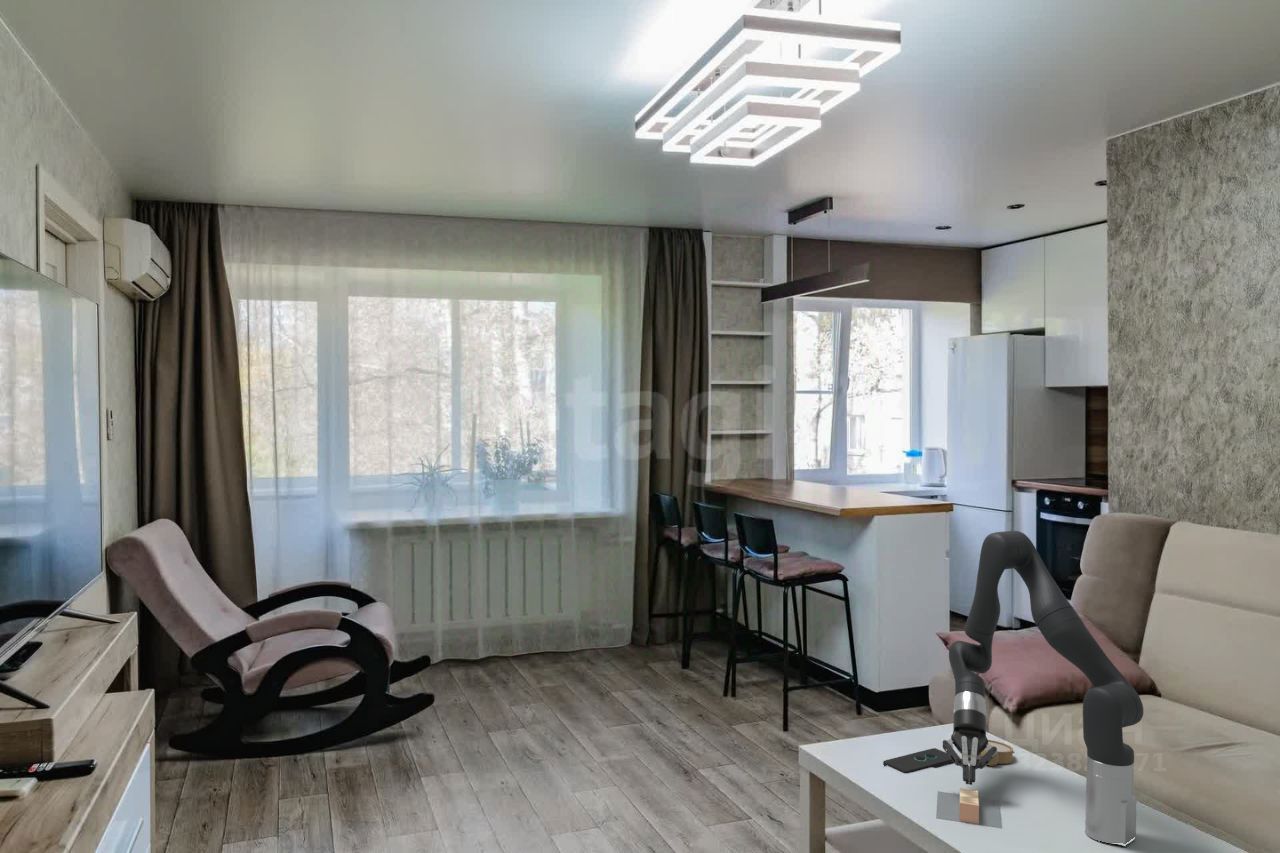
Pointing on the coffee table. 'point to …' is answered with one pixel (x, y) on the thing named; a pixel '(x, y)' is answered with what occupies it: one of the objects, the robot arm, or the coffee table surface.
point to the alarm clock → (998, 753)
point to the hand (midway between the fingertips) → (969, 783)
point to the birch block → (969, 806)
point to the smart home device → (919, 761)
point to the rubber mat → (951, 804)
